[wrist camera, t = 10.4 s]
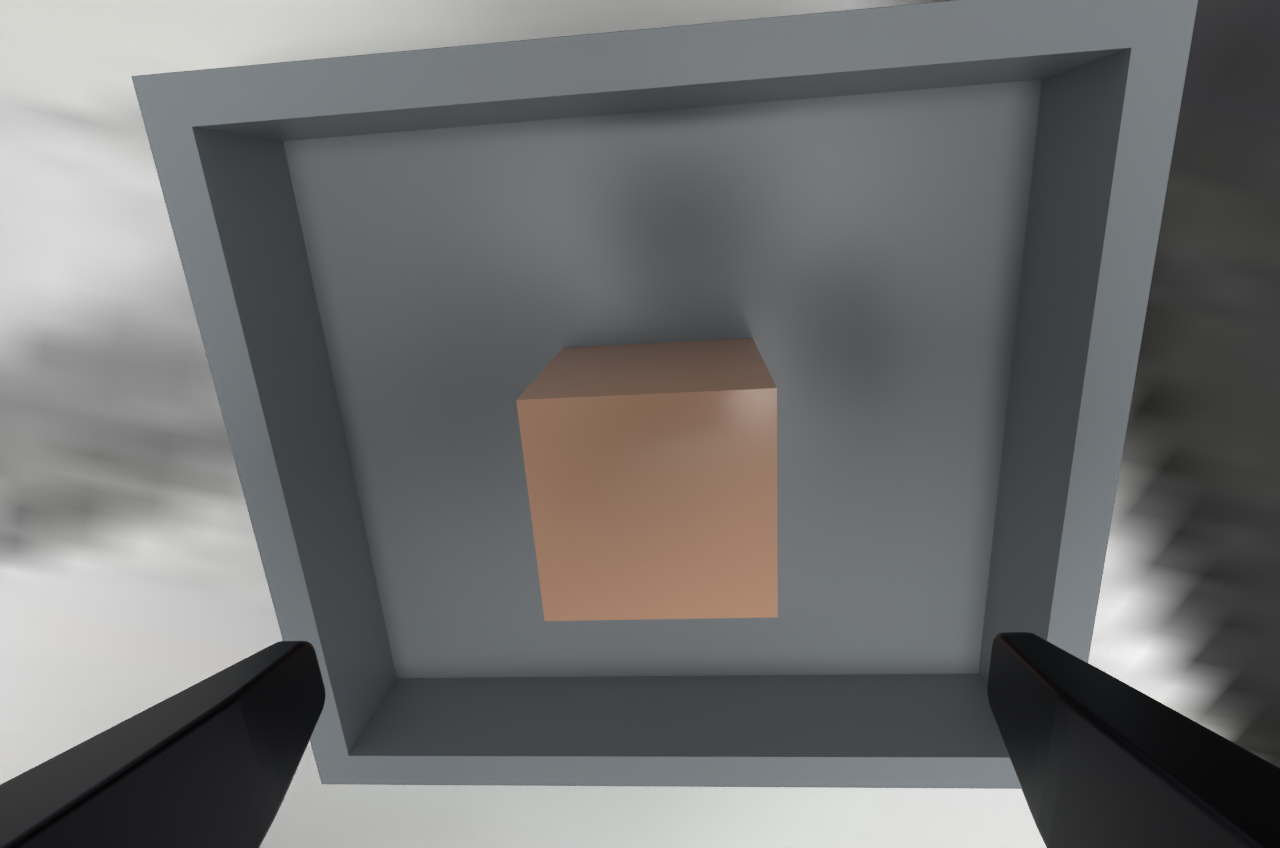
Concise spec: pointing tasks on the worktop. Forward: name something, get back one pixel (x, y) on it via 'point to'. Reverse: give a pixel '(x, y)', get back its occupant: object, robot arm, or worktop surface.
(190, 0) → the worktop surface
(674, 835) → the worktop surface
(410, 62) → the bin
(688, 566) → the brown block
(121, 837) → the robot arm
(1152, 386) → the worktop surface
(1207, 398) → the worktop surface
